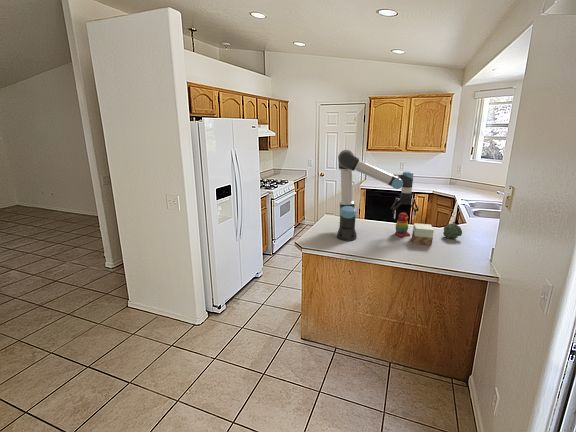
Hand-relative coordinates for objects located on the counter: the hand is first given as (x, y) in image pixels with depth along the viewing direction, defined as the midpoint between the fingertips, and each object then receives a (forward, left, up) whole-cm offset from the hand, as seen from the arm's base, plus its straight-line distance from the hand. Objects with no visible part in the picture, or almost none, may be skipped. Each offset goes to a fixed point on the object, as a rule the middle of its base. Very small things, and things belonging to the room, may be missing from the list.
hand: (403, 218), depth 242 cm
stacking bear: (0, 0, -13) cm, 13 cm away
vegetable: (+37, +2, -13) cm, 39 cm away
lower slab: (+13, -12, -13) cm, 22 cm away
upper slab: (+13, -12, -7) cm, 19 cm away
